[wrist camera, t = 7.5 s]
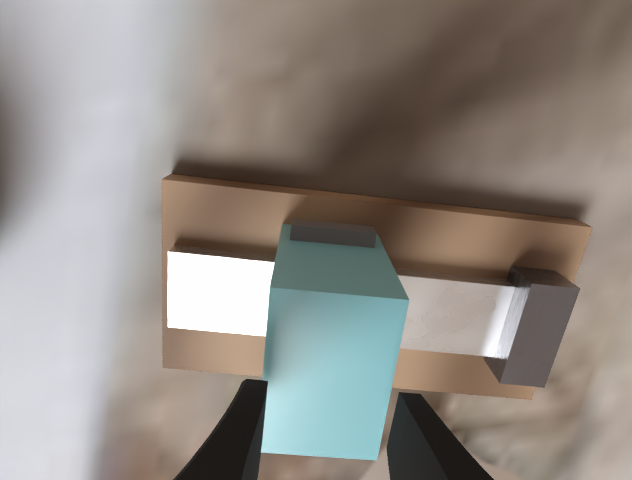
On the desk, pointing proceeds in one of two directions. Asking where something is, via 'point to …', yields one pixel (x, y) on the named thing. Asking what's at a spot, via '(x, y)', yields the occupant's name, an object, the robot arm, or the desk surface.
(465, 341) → the rail
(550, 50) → the desk surface
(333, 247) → the block
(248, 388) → the robot arm
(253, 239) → the mounting board
